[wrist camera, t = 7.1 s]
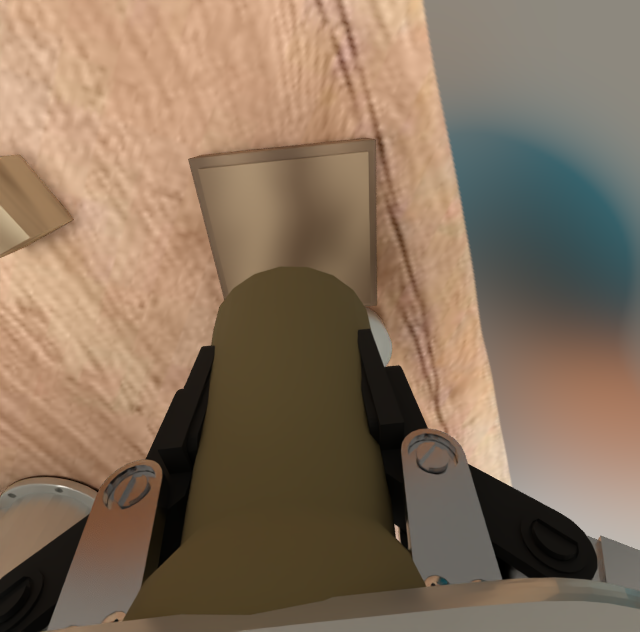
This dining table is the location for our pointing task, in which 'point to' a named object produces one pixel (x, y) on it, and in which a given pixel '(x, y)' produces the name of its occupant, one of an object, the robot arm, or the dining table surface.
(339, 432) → the pepper shaker
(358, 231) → the walnut stand
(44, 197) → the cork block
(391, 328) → the dining table surface
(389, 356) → the pale grey dome
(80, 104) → the dining table surface
